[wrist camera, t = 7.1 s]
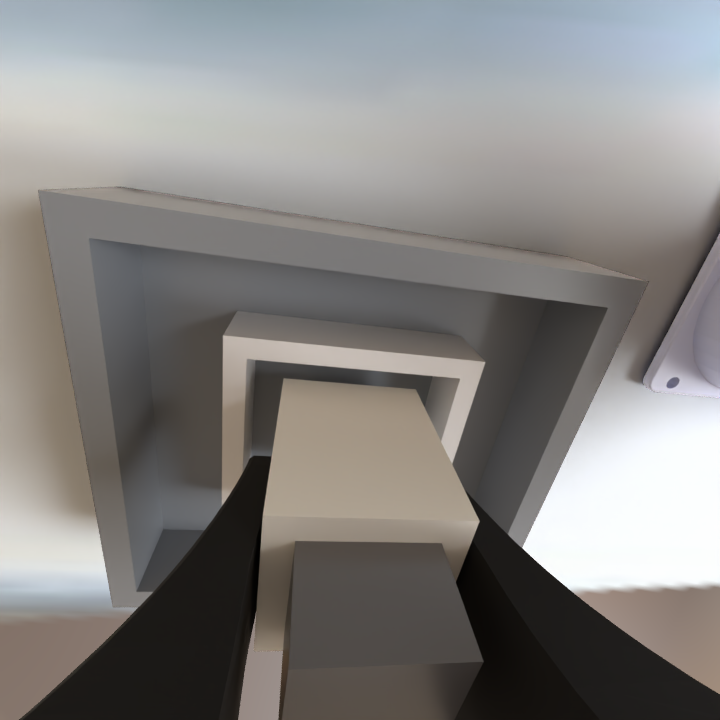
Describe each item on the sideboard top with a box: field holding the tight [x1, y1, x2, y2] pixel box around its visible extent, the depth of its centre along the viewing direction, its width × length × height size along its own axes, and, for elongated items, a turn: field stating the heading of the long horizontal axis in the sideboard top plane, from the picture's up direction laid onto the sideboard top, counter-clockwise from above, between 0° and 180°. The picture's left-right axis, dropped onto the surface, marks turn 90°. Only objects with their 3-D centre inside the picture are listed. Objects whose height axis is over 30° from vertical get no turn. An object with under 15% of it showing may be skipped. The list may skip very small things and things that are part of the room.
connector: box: [254, 378, 484, 720], centre depth 9 cm, size 4×4×7 cm
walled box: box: [38, 187, 648, 607], centre depth 13 cm, size 14×13×4 cm
